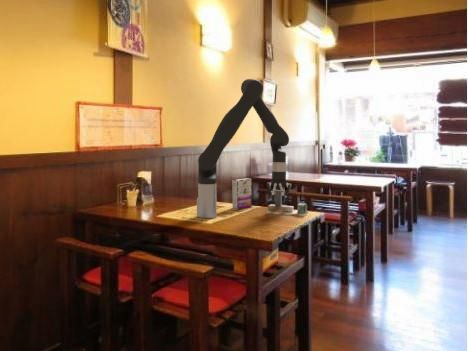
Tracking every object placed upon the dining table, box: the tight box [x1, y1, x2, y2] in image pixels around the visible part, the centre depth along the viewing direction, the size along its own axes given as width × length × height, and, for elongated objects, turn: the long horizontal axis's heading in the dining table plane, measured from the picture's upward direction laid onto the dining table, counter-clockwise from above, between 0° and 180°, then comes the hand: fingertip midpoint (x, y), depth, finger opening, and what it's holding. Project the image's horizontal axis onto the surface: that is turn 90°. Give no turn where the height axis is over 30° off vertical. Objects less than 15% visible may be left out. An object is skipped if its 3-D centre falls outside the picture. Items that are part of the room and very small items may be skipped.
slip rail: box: [266, 202, 309, 217], centre depth 215 cm, size 20×10×5 cm, turn 69°
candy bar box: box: [231, 177, 253, 210], centre depth 230 cm, size 11×5×16 cm, turn 131°
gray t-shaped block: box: [268, 189, 295, 212], centre depth 216 cm, size 13×3×11 cm, turn 69°
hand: (278, 201), depth 216 cm, fingers open, 4 cm apart
